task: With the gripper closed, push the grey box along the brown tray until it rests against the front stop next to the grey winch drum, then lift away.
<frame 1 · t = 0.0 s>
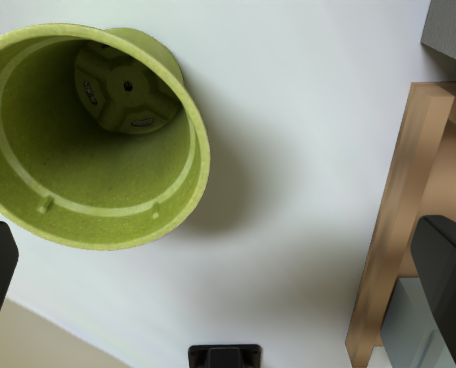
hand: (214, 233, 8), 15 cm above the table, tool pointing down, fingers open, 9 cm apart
plant pot: (131, 84, 22), on the table
grey box: (446, 333, 29), point 3 cm above the table, slide at 0.0 cm
brown tray: (451, 241, 28), on the table
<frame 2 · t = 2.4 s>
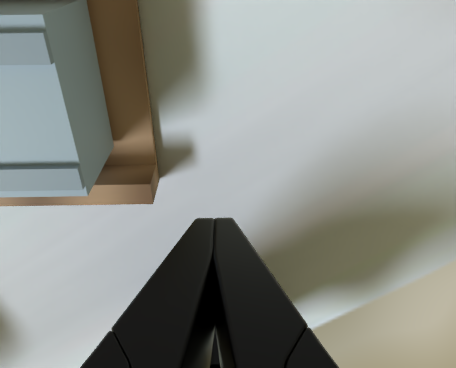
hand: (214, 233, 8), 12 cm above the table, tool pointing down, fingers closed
grey box: (1, 98, 16), point 3 cm above the table, slide at 0.0 cm
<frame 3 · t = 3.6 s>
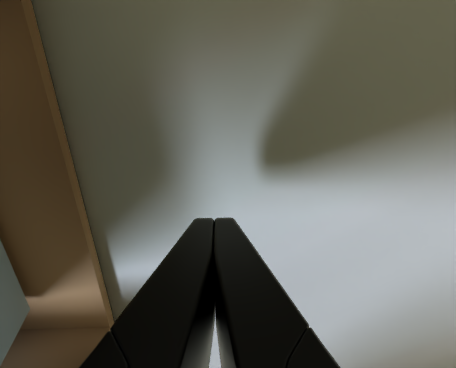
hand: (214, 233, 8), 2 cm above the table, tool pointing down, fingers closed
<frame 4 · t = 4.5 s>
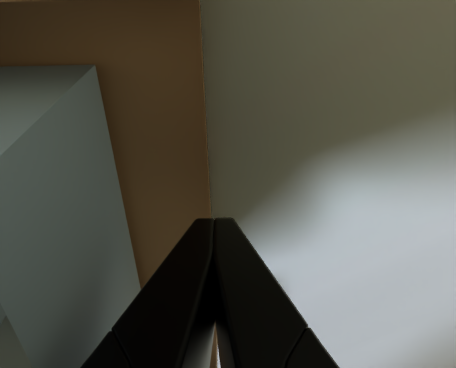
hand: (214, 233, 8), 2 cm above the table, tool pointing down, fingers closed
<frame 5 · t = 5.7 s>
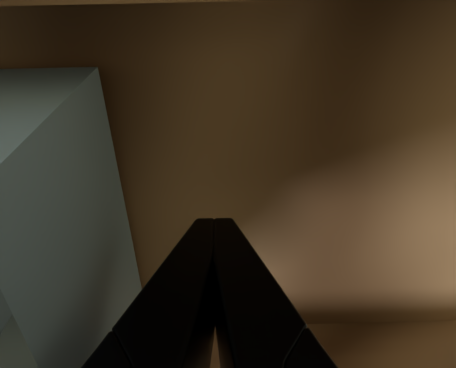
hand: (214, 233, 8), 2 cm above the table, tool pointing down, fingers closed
brown tray: (76, 197, 10), on the table
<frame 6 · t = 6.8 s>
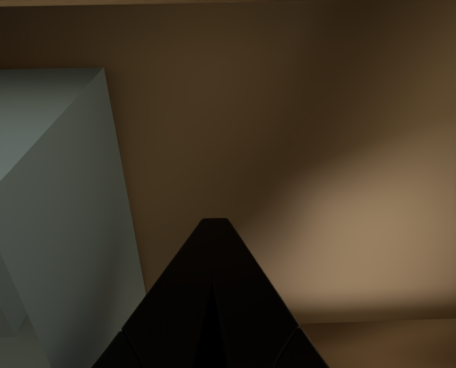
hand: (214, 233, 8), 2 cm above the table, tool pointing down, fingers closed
brown tray: (277, 192, 10), on the table
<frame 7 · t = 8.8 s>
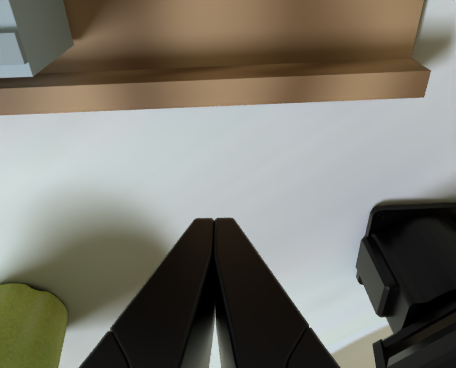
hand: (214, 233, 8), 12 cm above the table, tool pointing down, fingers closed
plant pot: (28, 307, 28), on the table
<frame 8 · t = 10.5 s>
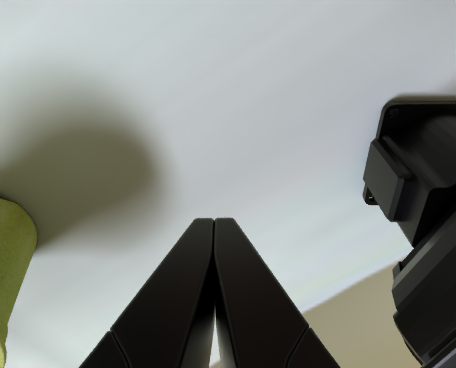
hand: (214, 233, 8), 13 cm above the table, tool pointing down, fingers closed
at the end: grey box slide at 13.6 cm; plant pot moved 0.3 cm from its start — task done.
